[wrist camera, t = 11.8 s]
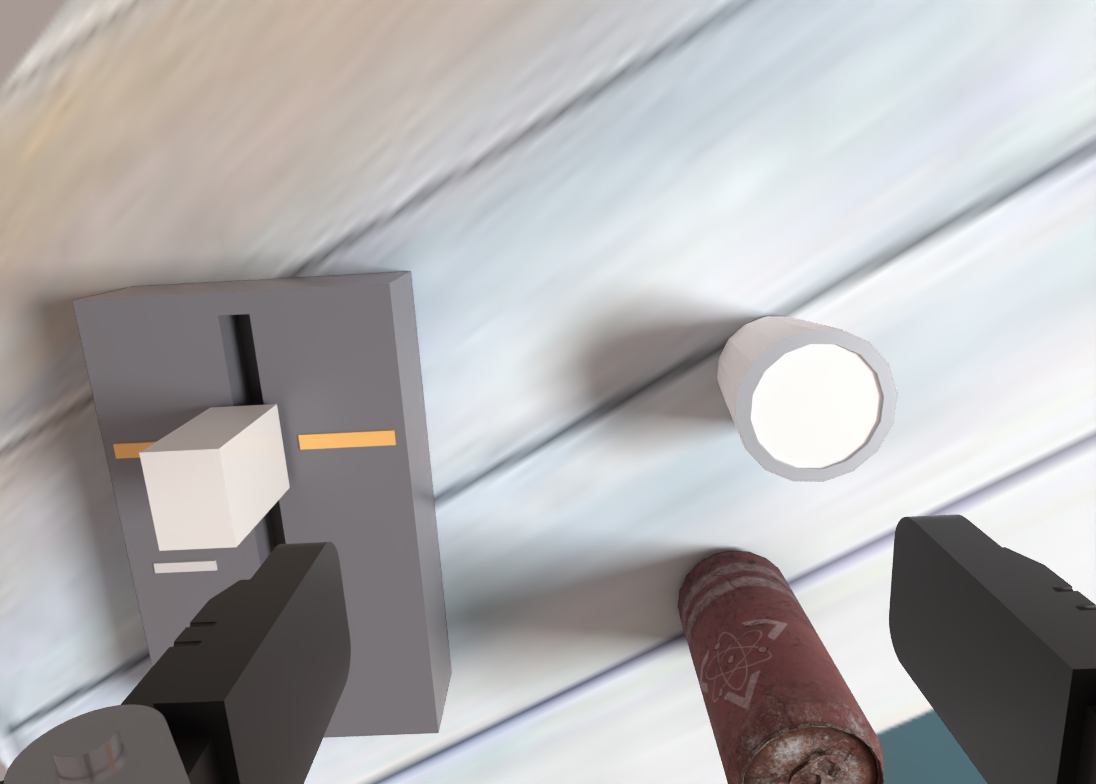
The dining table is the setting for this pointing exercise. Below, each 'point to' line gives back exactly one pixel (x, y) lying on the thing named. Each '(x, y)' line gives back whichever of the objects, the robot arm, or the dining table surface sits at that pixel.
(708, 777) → the dining table surface
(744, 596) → the can
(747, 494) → the dining table surface
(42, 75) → the dining table surface
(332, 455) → the slider control panel
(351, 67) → the dining table surface
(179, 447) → the fader knob
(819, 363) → the white cylinder
